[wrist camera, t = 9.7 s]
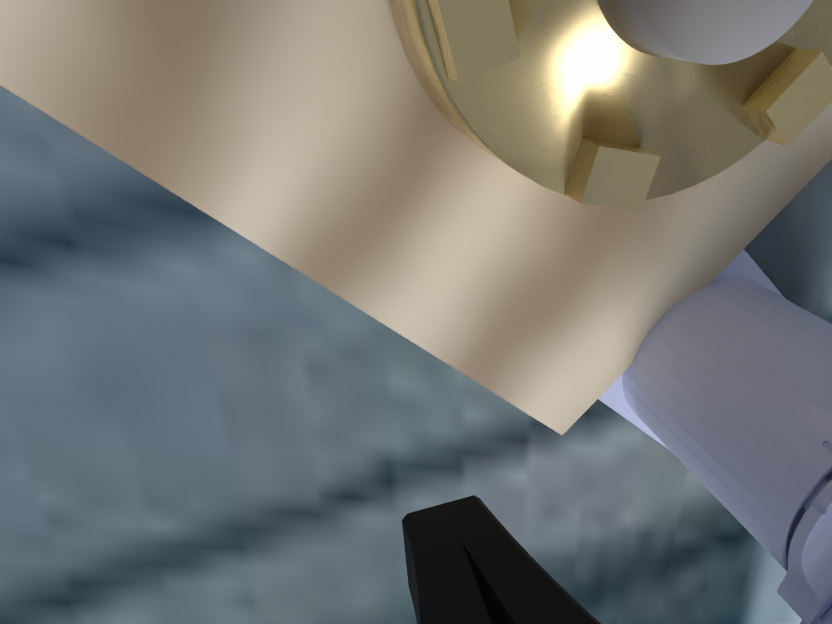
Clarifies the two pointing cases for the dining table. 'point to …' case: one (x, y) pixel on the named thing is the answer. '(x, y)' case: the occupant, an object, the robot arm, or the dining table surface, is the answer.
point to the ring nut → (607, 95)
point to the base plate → (408, 173)
